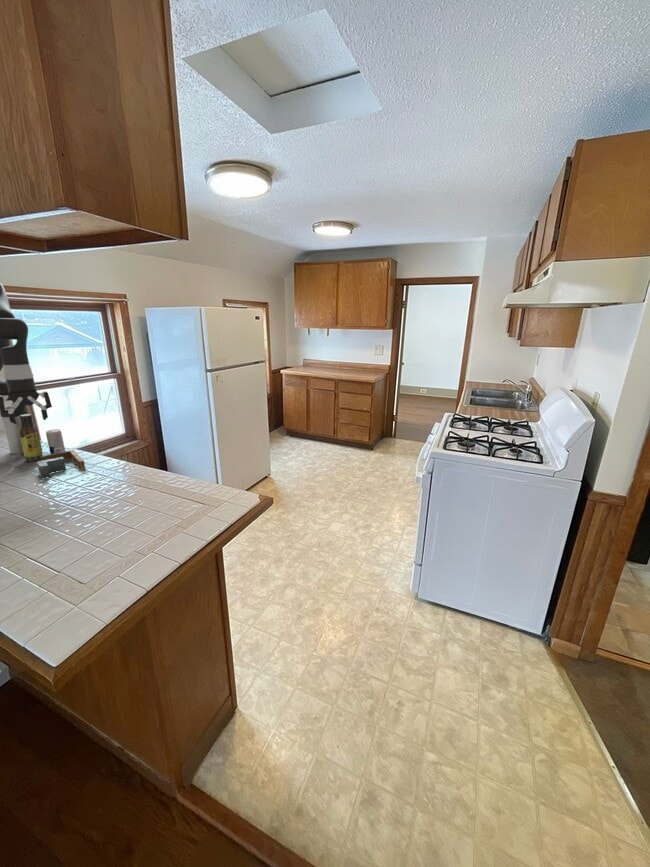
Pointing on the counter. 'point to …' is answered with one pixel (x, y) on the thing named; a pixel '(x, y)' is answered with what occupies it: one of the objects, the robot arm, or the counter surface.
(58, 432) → the energy drink
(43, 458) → the brown angled frame
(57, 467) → the bracket
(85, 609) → the counter surface
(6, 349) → the robot arm
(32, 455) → the sauce bottle
